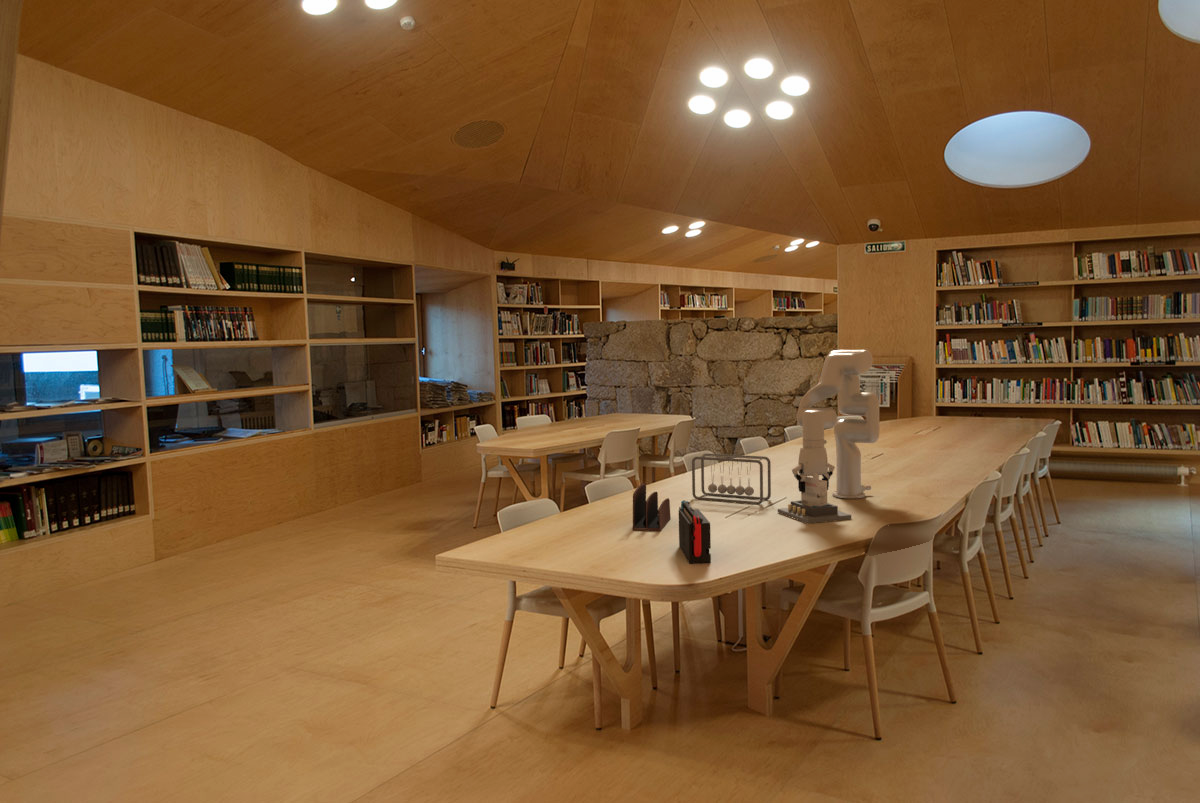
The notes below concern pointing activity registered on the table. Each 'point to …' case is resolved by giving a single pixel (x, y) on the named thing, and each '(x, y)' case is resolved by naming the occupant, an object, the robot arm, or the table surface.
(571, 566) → the table surface
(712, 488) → the newton's cradle
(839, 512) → the dock board
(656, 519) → the letter holder
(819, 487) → the ink box
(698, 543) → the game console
